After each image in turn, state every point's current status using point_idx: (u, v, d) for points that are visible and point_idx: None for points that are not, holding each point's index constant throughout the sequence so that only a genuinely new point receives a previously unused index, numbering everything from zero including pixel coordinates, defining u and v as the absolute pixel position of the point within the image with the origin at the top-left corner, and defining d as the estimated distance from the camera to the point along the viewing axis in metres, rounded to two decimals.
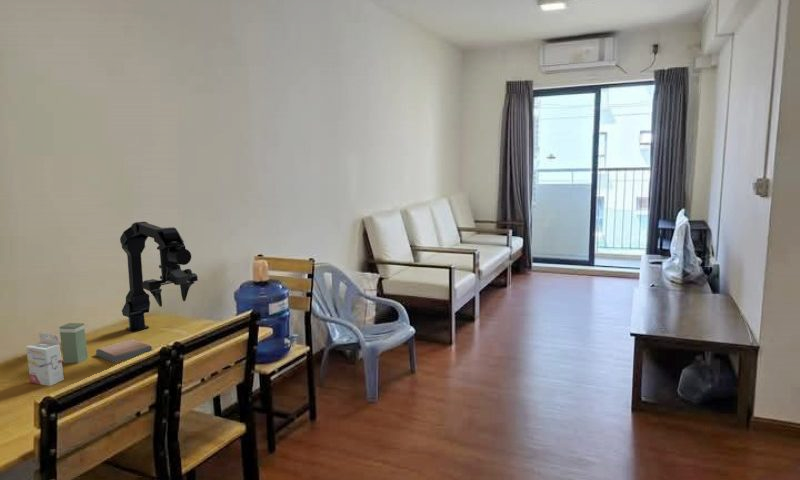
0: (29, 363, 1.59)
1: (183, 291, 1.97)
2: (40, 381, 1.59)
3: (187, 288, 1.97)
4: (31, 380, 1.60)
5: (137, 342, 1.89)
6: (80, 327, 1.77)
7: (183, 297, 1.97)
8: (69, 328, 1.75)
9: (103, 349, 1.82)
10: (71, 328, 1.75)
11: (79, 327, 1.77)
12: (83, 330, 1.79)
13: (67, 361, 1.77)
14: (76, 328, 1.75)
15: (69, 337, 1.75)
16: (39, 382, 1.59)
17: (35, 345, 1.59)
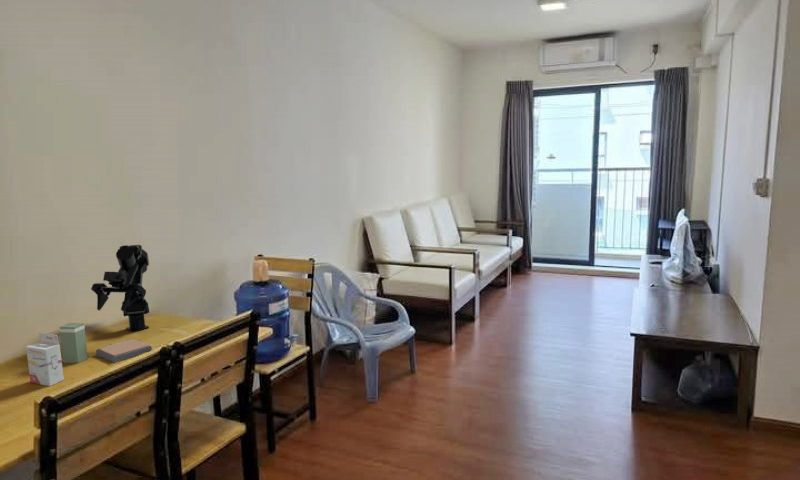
0: (29, 363, 1.59)
1: None
2: (40, 381, 1.59)
3: (127, 296, 1.92)
4: (31, 380, 1.60)
5: (137, 342, 1.89)
6: (80, 327, 1.77)
7: None
8: (69, 328, 1.75)
9: (103, 349, 1.82)
10: (71, 328, 1.75)
11: (79, 327, 1.77)
12: (83, 330, 1.79)
13: (67, 361, 1.77)
14: (76, 328, 1.75)
15: (69, 337, 1.75)
16: (39, 382, 1.59)
17: (35, 345, 1.59)
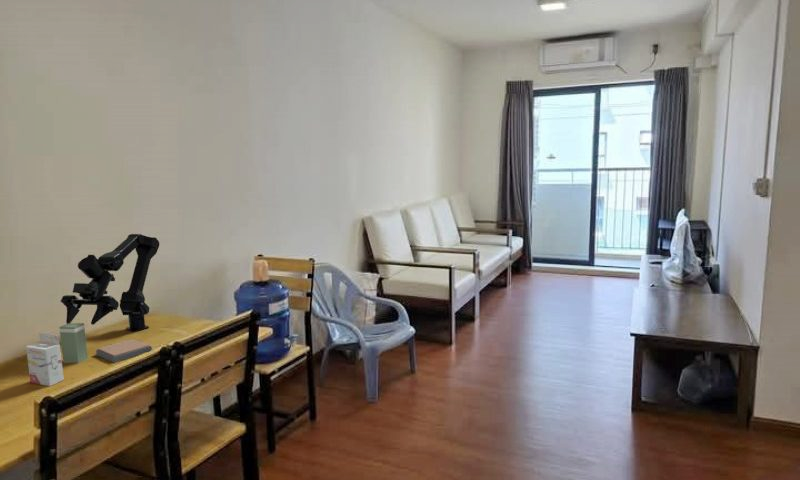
0: (29, 363, 1.59)
1: None
2: (40, 381, 1.59)
3: (97, 309, 1.82)
4: (31, 380, 1.60)
5: (137, 342, 1.89)
6: (80, 327, 1.77)
7: None
8: (69, 328, 1.75)
9: (103, 349, 1.82)
10: (71, 328, 1.75)
11: (79, 327, 1.77)
12: (83, 330, 1.79)
13: (67, 361, 1.77)
14: (76, 328, 1.75)
15: (69, 337, 1.75)
16: (39, 382, 1.59)
17: (35, 345, 1.59)
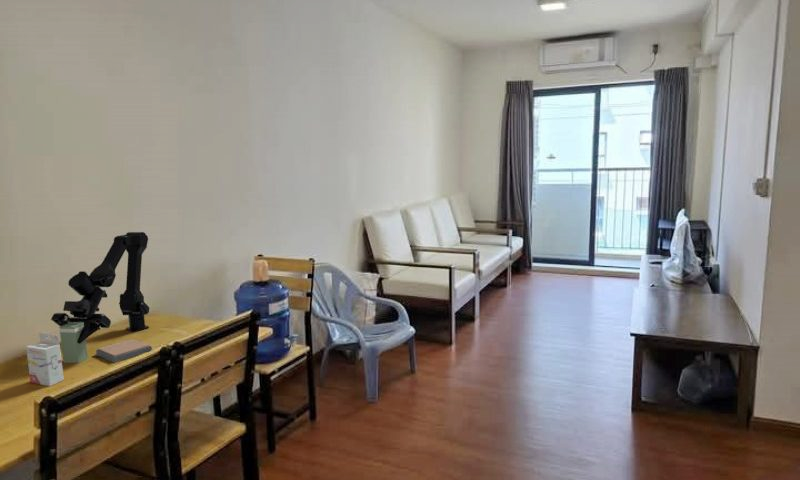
0: (29, 363, 1.59)
1: None
2: (40, 381, 1.59)
3: (84, 328, 1.78)
4: (31, 380, 1.60)
5: (137, 342, 1.89)
6: (80, 327, 1.77)
7: None
8: (69, 328, 1.75)
9: (103, 349, 1.82)
10: (71, 328, 1.75)
11: (79, 327, 1.77)
12: None
13: (67, 361, 1.77)
14: (76, 328, 1.75)
15: (69, 336, 1.75)
16: (39, 382, 1.59)
17: (35, 345, 1.59)
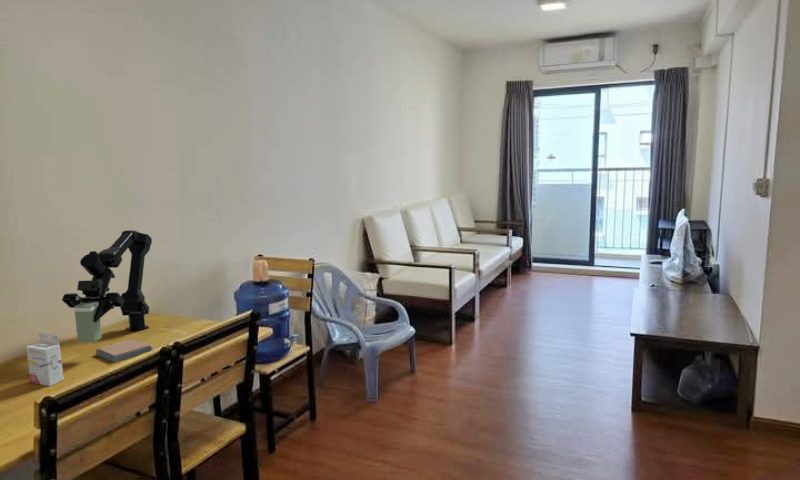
0: (29, 363, 1.59)
1: None
2: (40, 381, 1.59)
3: (99, 307, 1.79)
4: (31, 380, 1.60)
5: (137, 342, 1.89)
6: (95, 306, 1.78)
7: None
8: (85, 307, 1.75)
9: (103, 349, 1.82)
10: (87, 307, 1.75)
11: (94, 306, 1.77)
12: None
13: (82, 340, 1.77)
14: (92, 307, 1.76)
15: (85, 315, 1.76)
16: (39, 382, 1.59)
17: (35, 345, 1.59)
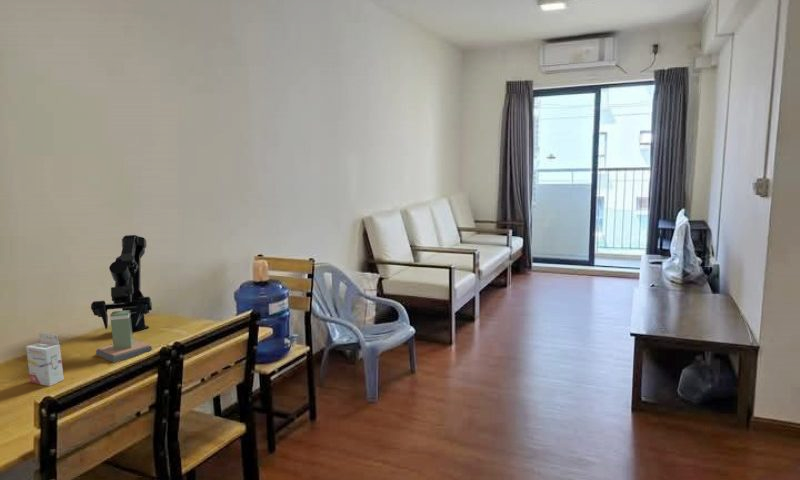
0: (29, 363, 1.59)
1: None
2: (40, 381, 1.59)
3: (138, 311, 1.86)
4: (31, 380, 1.60)
5: (137, 342, 1.89)
6: (129, 313, 1.84)
7: (135, 321, 1.84)
8: (122, 315, 1.81)
9: (103, 349, 1.82)
10: (124, 314, 1.81)
11: (129, 313, 1.84)
12: (130, 316, 1.86)
13: (118, 348, 1.82)
14: (128, 314, 1.83)
15: (122, 323, 1.81)
16: (39, 382, 1.59)
17: (35, 345, 1.59)
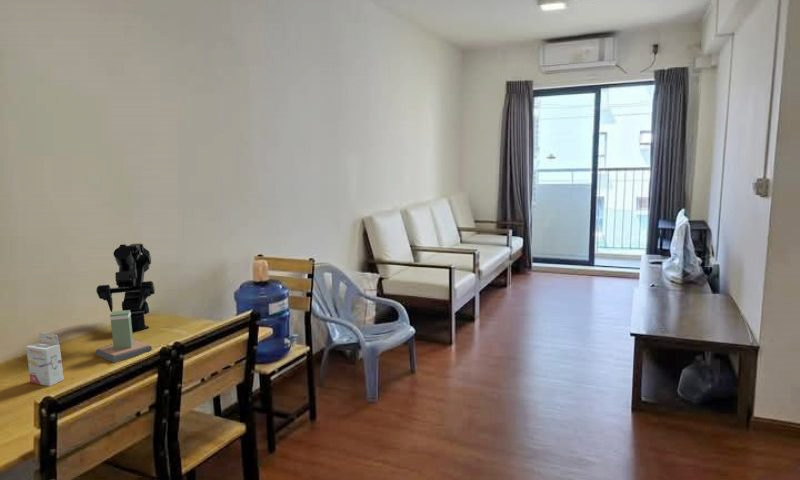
0: (29, 363, 1.59)
1: None
2: (40, 381, 1.59)
3: (141, 294, 1.94)
4: (31, 380, 1.60)
5: (137, 342, 1.89)
6: (129, 313, 1.84)
7: None
8: (122, 315, 1.81)
9: (103, 349, 1.82)
10: (124, 314, 1.81)
11: (129, 313, 1.84)
12: (130, 316, 1.86)
13: (118, 348, 1.82)
14: (128, 314, 1.83)
15: (122, 323, 1.81)
16: (39, 382, 1.59)
17: (35, 345, 1.59)
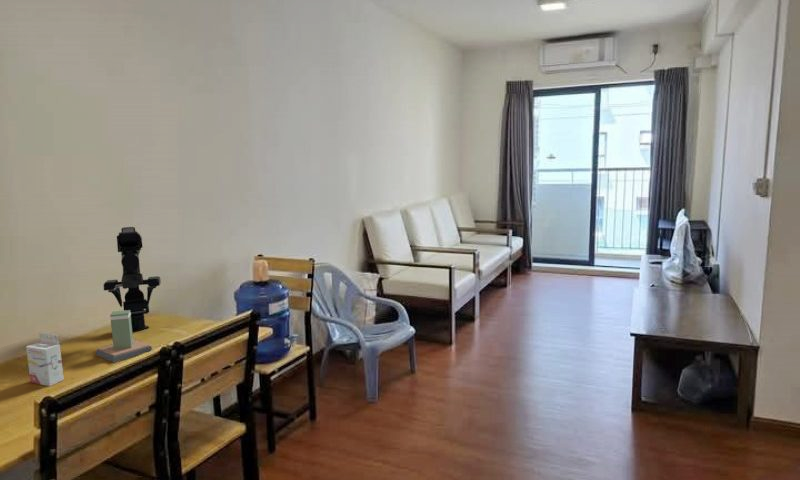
0: (29, 363, 1.59)
1: None
2: (40, 381, 1.59)
3: (149, 292, 1.99)
4: (31, 380, 1.60)
5: (137, 342, 1.89)
6: (129, 313, 1.84)
7: (147, 300, 2.00)
8: (122, 315, 1.81)
9: (103, 349, 1.82)
10: (124, 314, 1.81)
11: (129, 313, 1.84)
12: (130, 316, 1.86)
13: (118, 348, 1.82)
14: (128, 314, 1.83)
15: (122, 323, 1.81)
16: (39, 382, 1.59)
17: (35, 345, 1.59)
